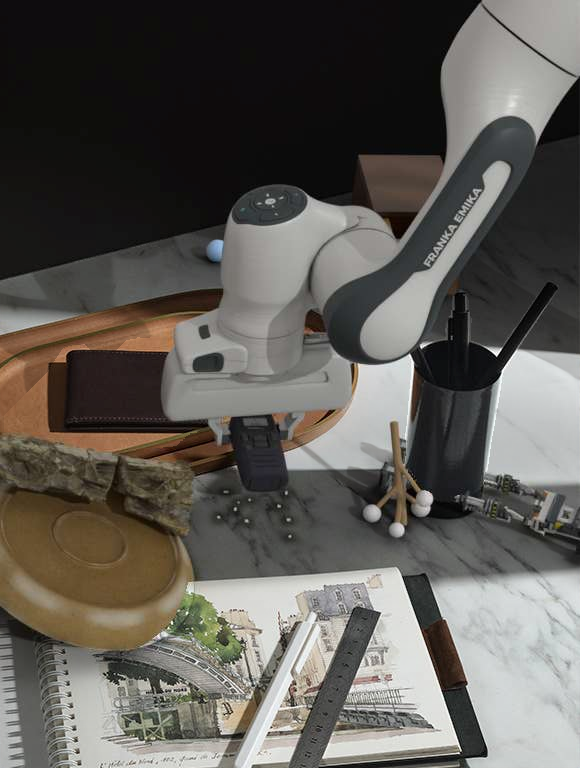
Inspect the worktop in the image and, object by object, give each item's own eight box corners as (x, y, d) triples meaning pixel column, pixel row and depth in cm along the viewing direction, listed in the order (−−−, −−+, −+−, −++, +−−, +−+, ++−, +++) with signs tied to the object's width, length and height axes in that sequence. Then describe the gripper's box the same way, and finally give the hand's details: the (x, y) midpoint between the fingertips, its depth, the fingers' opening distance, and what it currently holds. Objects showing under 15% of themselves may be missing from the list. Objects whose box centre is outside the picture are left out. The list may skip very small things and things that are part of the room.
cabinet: (449, 273, 174) (461, 212, 168) (364, 272, 174) (374, 211, 168) (429, 214, 186) (440, 155, 180) (349, 214, 186) (358, 154, 180)
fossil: (178, 450, 136) (215, 476, 127) (158, 515, 138) (194, 545, 129) (-14, 407, 128) (12, 432, 119) (-33, 477, 129) (-9, 507, 120)
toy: (401, 423, 142) (683, 499, 130) (396, 470, 146) (669, 547, 135) (376, 466, 137) (668, 549, 125) (372, 513, 141) (654, 597, 129)
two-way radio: (243, 474, 132) (220, 374, 142) (236, 502, 136) (214, 402, 146) (294, 473, 133) (268, 374, 143) (286, 501, 136) (261, 402, 146)
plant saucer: (-11, 622, 113) (-20, 646, 115) (233, 636, 122) (220, 658, 123) (-42, 441, 130) (-49, 465, 132) (173, 465, 139) (163, 487, 141)
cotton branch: (435, 421, 132) (444, 533, 134) (414, 412, 138) (424, 519, 140) (366, 432, 131) (377, 544, 133) (348, 422, 137) (359, 529, 140)
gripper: (352, 312, 134) (338, 414, 143) (159, 325, 132) (158, 427, 141) (367, 348, 129) (352, 451, 138) (166, 362, 127) (165, 465, 137)
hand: (252, 439), depth 140 cm, fingers closed on two-way radio, 5 cm apart
